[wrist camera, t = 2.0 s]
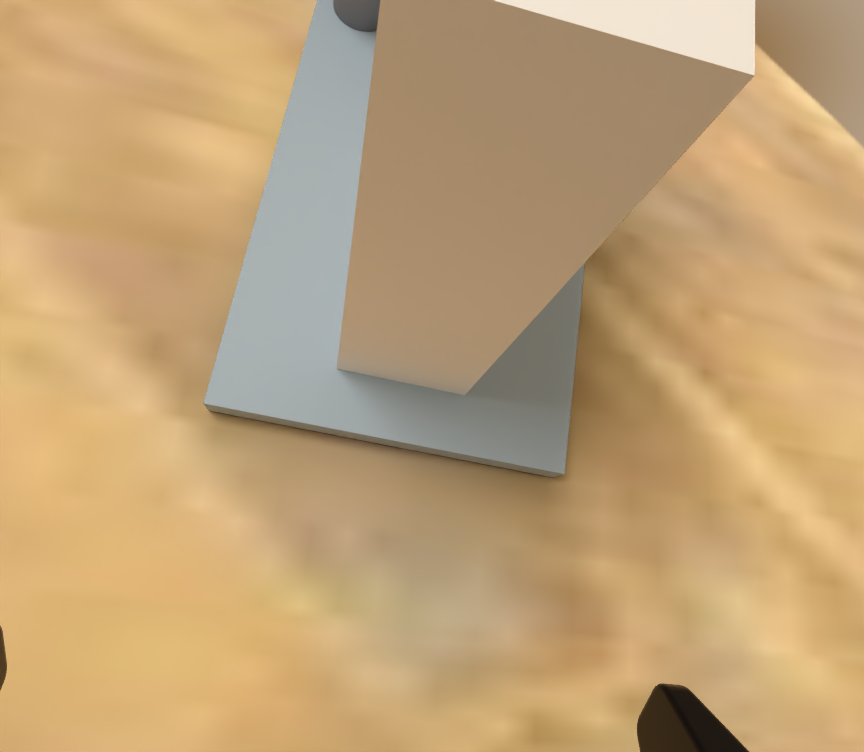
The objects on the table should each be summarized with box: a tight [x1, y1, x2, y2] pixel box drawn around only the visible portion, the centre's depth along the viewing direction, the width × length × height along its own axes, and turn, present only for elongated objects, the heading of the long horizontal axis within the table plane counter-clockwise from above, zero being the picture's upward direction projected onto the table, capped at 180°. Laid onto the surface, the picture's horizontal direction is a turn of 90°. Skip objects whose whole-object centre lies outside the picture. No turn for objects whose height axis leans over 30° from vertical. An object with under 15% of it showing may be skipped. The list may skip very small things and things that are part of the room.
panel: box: [337, 0, 755, 395], centre depth 16 cm, size 10×4×15 cm, turn 171°
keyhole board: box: [204, 0, 585, 478], centre depth 22 cm, size 22×12×6 cm, turn 171°
